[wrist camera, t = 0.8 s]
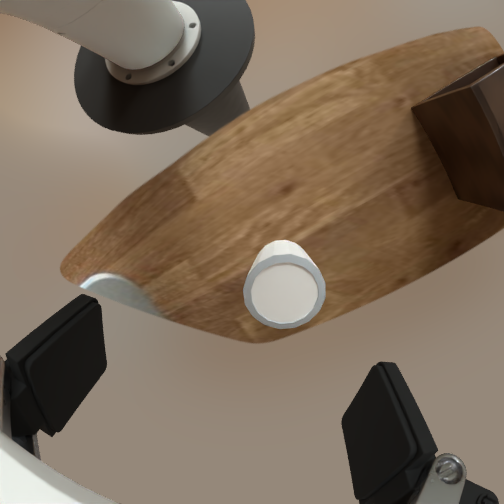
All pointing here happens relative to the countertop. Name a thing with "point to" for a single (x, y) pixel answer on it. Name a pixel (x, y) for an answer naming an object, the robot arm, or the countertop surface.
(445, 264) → the countertop surface
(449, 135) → the tray
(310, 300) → the white cylinder
